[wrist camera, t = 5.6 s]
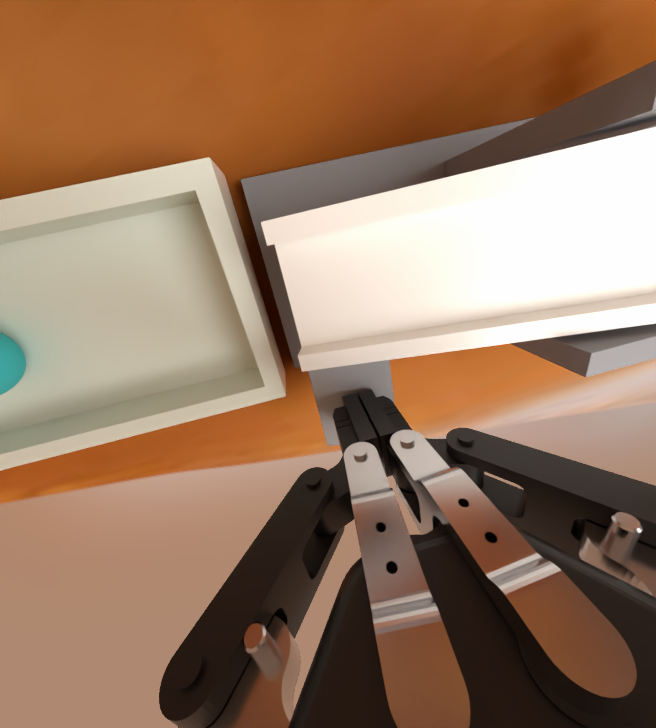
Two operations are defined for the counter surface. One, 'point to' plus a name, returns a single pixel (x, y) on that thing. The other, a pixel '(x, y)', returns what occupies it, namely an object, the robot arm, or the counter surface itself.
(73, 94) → the counter surface
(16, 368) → the ball
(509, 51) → the counter surface
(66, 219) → the tray
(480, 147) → the stand
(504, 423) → the counter surface
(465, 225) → the trough
